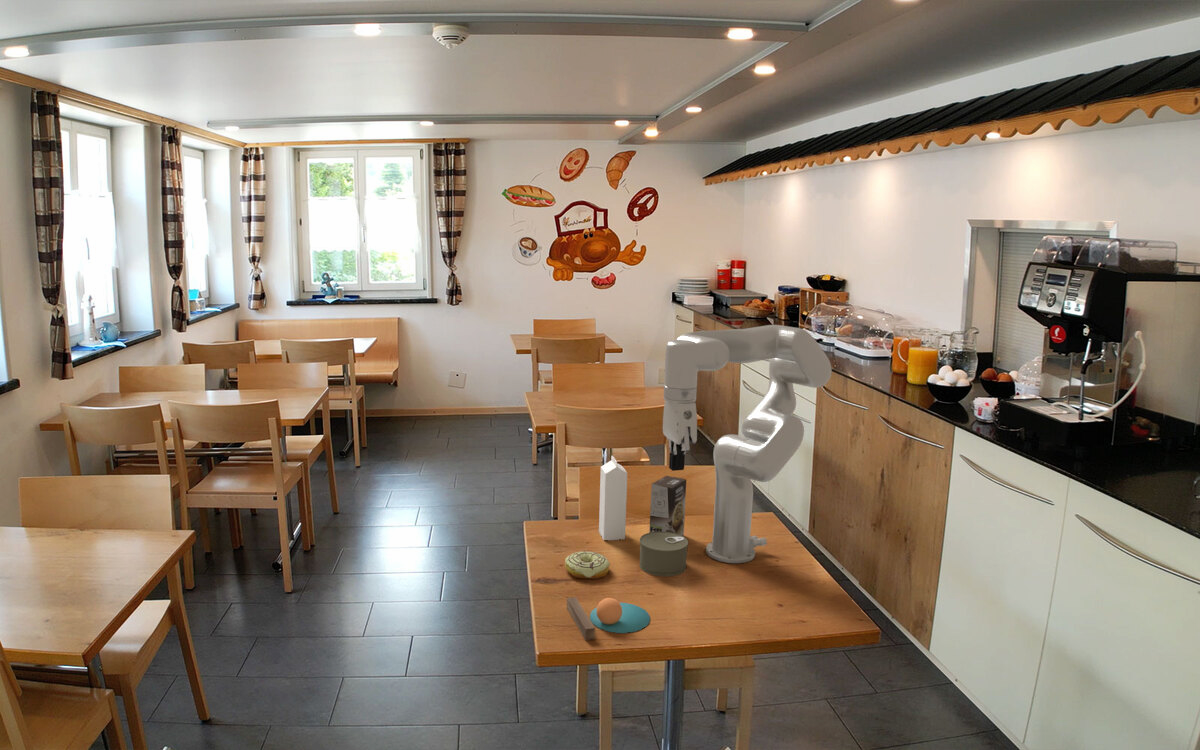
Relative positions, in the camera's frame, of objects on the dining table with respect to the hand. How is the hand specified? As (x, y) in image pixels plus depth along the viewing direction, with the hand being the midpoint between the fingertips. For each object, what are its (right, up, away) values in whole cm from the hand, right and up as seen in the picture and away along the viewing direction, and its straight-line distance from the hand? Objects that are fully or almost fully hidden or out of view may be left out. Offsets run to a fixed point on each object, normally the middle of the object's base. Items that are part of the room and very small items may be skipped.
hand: (676, 469), depth 190 cm
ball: (-16, -28, -18) cm, 37 cm away
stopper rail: (-22, -31, -18) cm, 42 cm away
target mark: (-14, -30, -15) cm, 37 cm away
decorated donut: (-21, -26, +7) cm, 34 cm away
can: (-2, -26, +11) cm, 28 cm away
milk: (-15, -22, +29) cm, 39 cm away
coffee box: (0, -22, +28) cm, 36 cm away
